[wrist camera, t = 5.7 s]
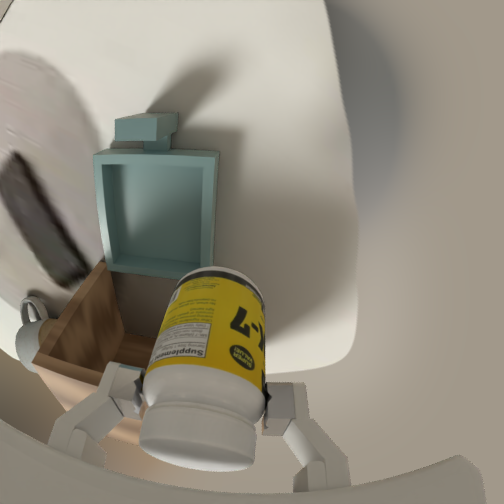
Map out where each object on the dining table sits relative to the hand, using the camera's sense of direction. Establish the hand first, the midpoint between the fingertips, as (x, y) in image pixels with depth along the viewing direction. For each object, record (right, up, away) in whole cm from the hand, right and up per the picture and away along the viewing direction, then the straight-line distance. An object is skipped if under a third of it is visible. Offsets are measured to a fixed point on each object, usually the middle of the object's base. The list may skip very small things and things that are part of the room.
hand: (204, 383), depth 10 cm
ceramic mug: (-28, -5, +23) cm, 37 cm away
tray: (-6, +10, +13) cm, 17 cm away
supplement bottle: (0, +3, +5) cm, 5 cm away
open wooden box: (-7, -2, +20) cm, 22 cm away
